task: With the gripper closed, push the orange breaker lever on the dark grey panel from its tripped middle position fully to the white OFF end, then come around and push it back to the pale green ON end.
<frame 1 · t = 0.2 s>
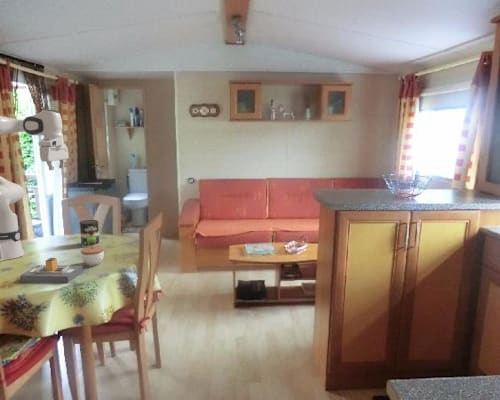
hand: (56, 169, 189), 48 cm above the table, fingers open, 8 cm apart
lidded jar: (93, 264, 188), on the table
panel: (52, 276, 171), on the table
breaker lever: (51, 264, 170), point 6 cm above the table, slide at 4.0 cm
coffee can: (90, 244, 220), on the table
dark grey rods: (64, 268, 181), on the table
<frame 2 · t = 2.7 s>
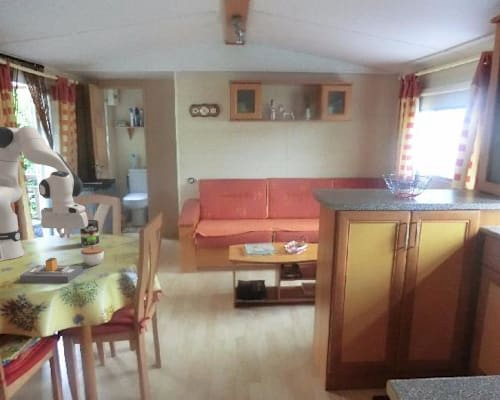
hand: (65, 237, 167), 19 cm above the table, fingers closed
nothing on the table moved.
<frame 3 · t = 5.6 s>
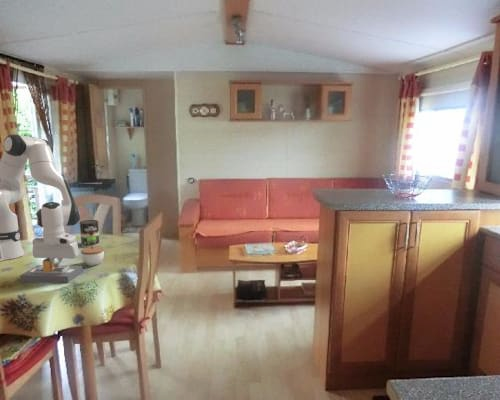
hand: (56, 266, 170), 5 cm above the table, fingers closed
breaker lever: (48, 264, 170), point 6 cm above the table, slide at 2.6 cm, touching gripper
everything else where it was.
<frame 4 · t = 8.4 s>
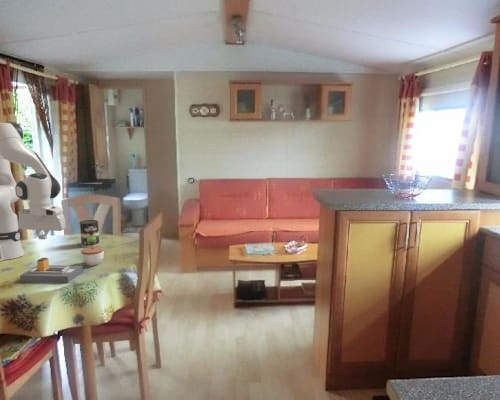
hand: (42, 239, 168), 18 cm above the table, fingers closed
breaker lever: (43, 264, 170), point 6 cm above the table, slide at 0.0 cm
everything else where it was.
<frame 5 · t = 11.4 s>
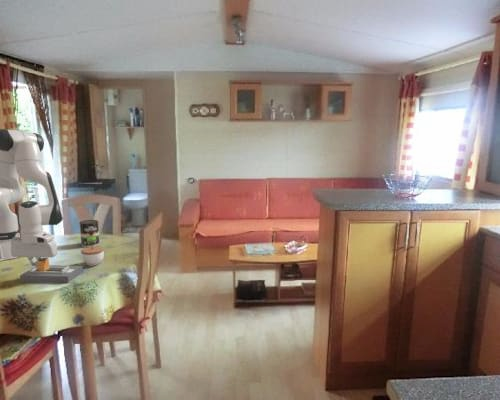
hand: (35, 265, 170), 5 cm above the table, fingers closed
breaker lever: (43, 264, 170), point 6 cm above the table, slide at 0.1 cm, touching gripper
everything else where it was.
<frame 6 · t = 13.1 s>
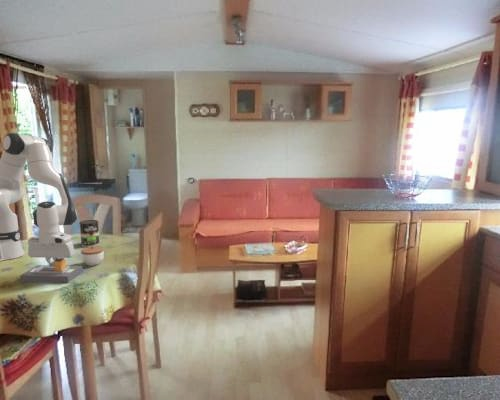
hand: (52, 266, 170), 5 cm above the table, fingers closed
breaker lever: (60, 264, 170), point 6 cm above the table, slide at 8.1 cm, touching gripper
everything else where it was.
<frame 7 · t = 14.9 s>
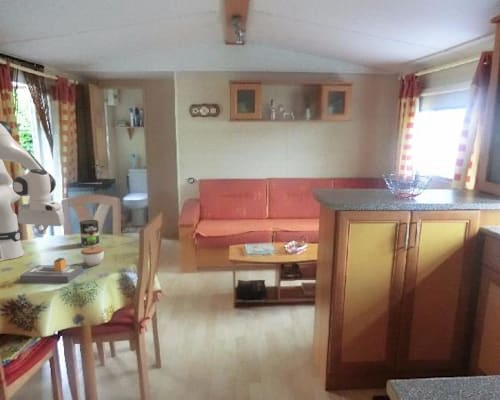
hand: (41, 233, 171), 20 cm above the table, fingers closed
breaker lever: (60, 264, 170), point 6 cm above the table, slide at 8.0 cm
everything else where it was.
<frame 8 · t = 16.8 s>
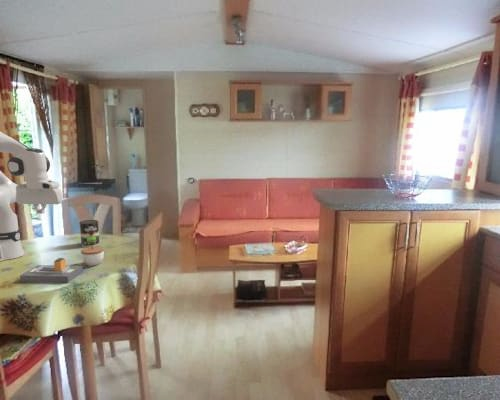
hand: (40, 213, 171), 29 cm above the table, fingers closed
nothing on the table moved.
at the end: breaker lever slide at 8.0 cm; breaker lever touching nothing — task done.
